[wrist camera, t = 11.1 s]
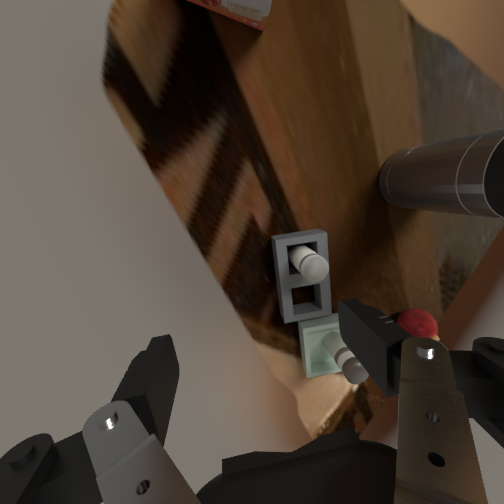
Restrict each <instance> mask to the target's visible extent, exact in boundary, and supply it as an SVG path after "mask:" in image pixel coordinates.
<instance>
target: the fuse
mask: <svg viewBox="0 0 504 504" xmlns="http://www.w3.org/2000/svg"><path fill="white" fill-rule="evenodd" d="M287 255H288V260H289V261H290V262H291V263H292V264H293V265H294V266H295V267H296V268H297V269H298V271H299V272H300V273H301V274H302V276H303V277H304V278H305V279H306V280H307V281H309V282H319V281H322V280H323V279H324V278H325V277H326V276H327V274H328V272H329V264H328V262H327V261H326V259H324V258H323V257H322V256H320V255H318V254H317V253H315V252H314V251H312V250H311V249H310V248H308V247H307V246H305V245H304V244H302V243H301V244H295V245H290V246H289V247H288V249H287Z"/></svg>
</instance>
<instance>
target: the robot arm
mask: <svg viewBox="0 0 504 504" xmlns="http://www.w3.org/2000/svg"><path fill="white" fill-rule="evenodd" d="M379 189H380V192H381V195H382V196H383V198H384V199H385V200H386V201H387V202H388V203H389V204H391V205H393V206H396V207H402V208H411V209H419V210H428V211H437V212H446V213H455V214H464V215H473V216H482V217H492V218H501V219H504V128H500V129H496V130H492V131H487V132H482V133H478V134H473V135H468V136H463V137H459V138H454V139H449V140H445V141H440V142H435V143H431V144H426V145H421V146H416V147H411V148H407V149H403V150H400V151H398V152H396V153H394V154H393V155H392V156H391V157H389V158H388V160H387V161H386V162H385V164H384V165H383V167H382V169H381V172H380V176H379ZM338 317H339V330H340V335H341V338H342V340H343V342H344V343H345V344H346V346H347V347H348V348H349V350H350V351H351V352H352V353H353V355H354V356H355V357H356V358H357V360H358V361H359V362H360V363H361V365H362V366H363V367H364V368H365V370H366V371H367V372H368V373H369V375H370V376H371V377H372V378H373V380H374V381H375V382H376V383H377V385H378V386H379V387H380V388H381V390H382V391H383V392H384V394H385V395H386V396H387V397H389V396H393V395H398V394H399V410H398V433H397V434H398V435H397V450H396V449H394V448H392V447H390V446H387V445H384V444H382V443H378V442H374V441H367V440H360V439H359V437H358V435H357V433H356V431H355V430H354V428H351V429H347V430H343V431H338V432H334V433H330V434H326V435H322V436H320V437H318V438H317V439H315V440H313V441H311V442H310V443H308V444H306V445H304V446H302V447H301V448H299V449H297V450H295V451H293V452H287V453H286V452H258V451H255V452H251V453H247V454H243V455H238V456H234V457H230V458H226V459H222V473H221V474H219V475H218V476H216V477H215V478H214V479H212V480H211V481H209V482H208V483H207V484H206V485H205V486H204V487H203V488H201V490H199V492H198V493H197V494H196V495H195V493H194V492H193V491H192V489H191V488H190V486H189V485H188V483H187V482H186V480H185V479H184V477H183V476H182V474H181V473H180V471H179V470H178V468H177V467H176V466H175V464H174V463H173V461H172V460H171V458H170V457H169V455H168V454H167V452H166V451H165V449H164V448H163V447H164V442H165V438H166V433H167V429H168V424H169V420H170V416H171V411H172V407H173V402H174V397H175V393H176V389H177V384H178V379H179V363H178V360H177V356H176V352H175V349H174V345H173V341H172V338H171V336H170V334H168V335H163V336H158V337H153V338H152V339H151V341H150V343H149V345H148V347H147V350H145V351H141V352H140V353H139V354H138V355H137V356H136V357H135V358H134V359H133V360H132V362H131V364H130V365H129V367H128V370H127V371H126V373H125V375H124V378H123V379H122V381H121V383H120V385H119V387H118V389H117V391H116V392H115V394H114V396H113V398H112V400H111V402H110V403H109V404H107V405H105V406H103V407H101V408H100V409H98V410H97V411H96V412H94V413H93V414H92V415H91V416H90V418H88V420H87V421H86V423H85V424H84V427H83V429H82V431H80V432H78V433H76V434H74V435H72V436H70V437H68V438H65V439H63V440H61V441H59V442H57V443H54V441H53V439H52V437H51V436H50V435H49V434H46V433H45V434H38V435H34V436H32V437H30V438H27V439H26V440H24V441H22V442H20V443H19V444H17V445H16V446H14V447H13V448H12V449H10V450H9V451H8V452H7V453H6V454H5V455H4V456H3V457H2V458H1V459H0V504H100V503H102V502H104V504H488V500H487V496H486V492H485V487H484V483H483V479H482V474H481V470H480V466H479V461H478V457H477V453H476V448H475V444H474V440H473V435H472V431H471V427H470V422H469V418H473V419H475V421H476V422H477V423H478V424H479V425H480V426H481V427H482V428H483V429H484V430H486V432H488V433H489V434H490V435H491V436H492V437H493V438H494V439H495V440H496V441H497V442H498V443H499V444H500V445H501V446H502V447H503V448H504V339H500V338H493V337H481V338H477V339H475V340H474V341H473V348H472V351H458V350H457V351H456V350H448V349H447V348H446V347H445V346H444V345H443V344H441V343H439V342H437V341H435V340H432V339H429V338H424V337H414V336H412V335H411V334H410V333H409V332H407V331H406V330H405V329H403V328H402V327H401V326H399V325H398V324H397V323H396V322H393V320H392V319H390V318H389V317H387V316H386V315H385V314H384V313H383V312H381V311H380V310H378V309H376V308H373V307H371V306H365V305H363V304H362V303H361V302H360V301H358V300H357V299H356V298H350V299H345V300H340V301H338Z"/></svg>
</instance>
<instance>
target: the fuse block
mask: <svg viewBox="0 0 504 504" xmlns="http://www.w3.org/2000/svg"><path fill="white" fill-rule="evenodd" d="M271 239H272V248H273V256H274V265H275V273H276V281H277V290H278V298H279V307H280V314H281V316H282V318H283V320H284V322H285V323H289V322H295V321H300V320H306V319H311V318H316V317H322V316H327V315H332V308H331V291H330V275H329V272H328V274H327V276H326V277H325V278H324V279H323V280H322V281H319V282H309V281H307V280H306V279H305V278H304V277H303V276H302V274H301V273H300V272H299V271H298V269H297V268H296V267H291V268H289V265H288V255H287V246H289V245H295V244H301V243H307V242H310V247H311V250H312V251H314V252H315V253H317V254H318V255H320V256H322V257H323V258H324V259H326V261H327V262H328V264H329V259H328V242H327V232H325V231H323V230H320V229H314V230H307V231H301V232H294V233H288V234H282V235H275V236H271ZM308 285H314V298H315V301H313V302H308V303H302V304H297V305H293V303H292V294H291V288H297V287H302V286H308Z"/></svg>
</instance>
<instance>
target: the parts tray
mask: <svg viewBox="0 0 504 504" xmlns="http://www.w3.org/2000/svg"><path fill="white" fill-rule="evenodd" d="M298 328H299V338H300V348H301V358H302V367H303V369H304V372H305V374H306V376H307V378H311V377H316V376H321V375H326V374H331V373H336V372H341V369H340V368H339V367H338V366H337V364H336V363H335V361H334V359H333V358H332V356H331V355H330V353H329V352H328V350H327V349H326V347H325V346H324V344H323V338H324V336H325V335H326V334H327V333H329V332H332V331H335V332H338V333H339V334H340V330H339V317H338V313H334V314H332V315H327V316H322V317H316V318H311V319H306V320H300V321H298Z"/></svg>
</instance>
